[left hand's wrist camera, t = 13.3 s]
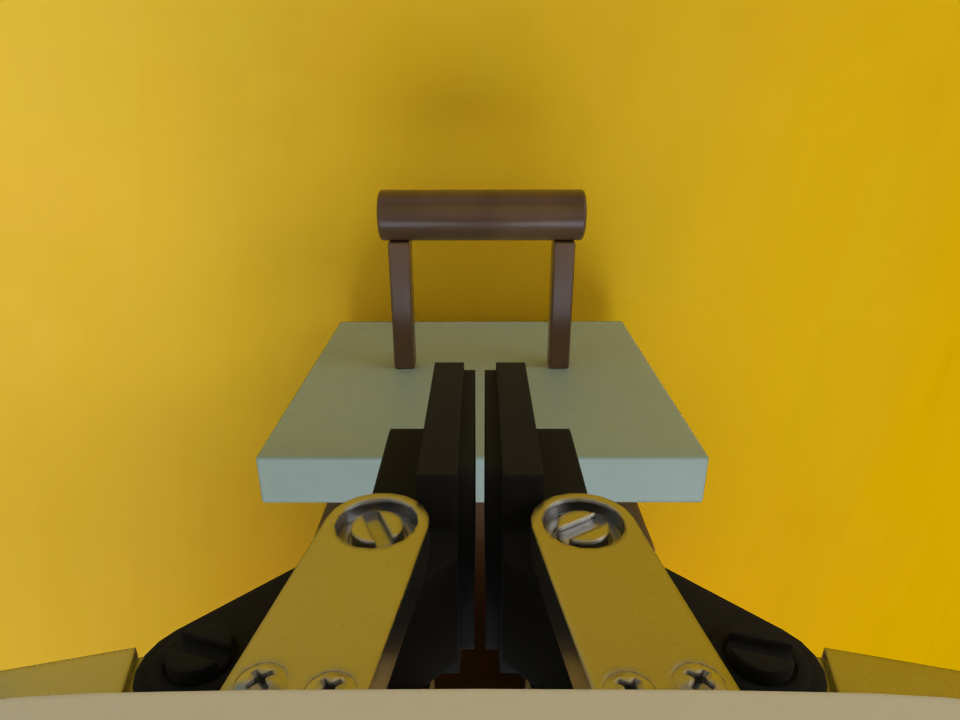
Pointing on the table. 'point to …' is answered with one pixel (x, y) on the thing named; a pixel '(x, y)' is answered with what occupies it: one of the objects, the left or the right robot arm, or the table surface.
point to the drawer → (482, 385)
